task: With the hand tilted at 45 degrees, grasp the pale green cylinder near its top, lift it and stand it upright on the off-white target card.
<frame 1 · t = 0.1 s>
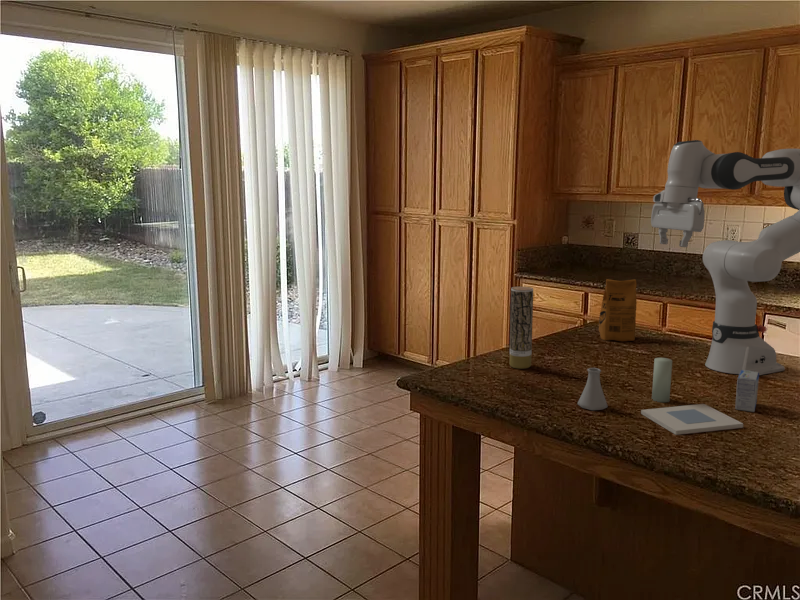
hand: (673, 245, 189), 39 cm above the counter, tool pointing down, fingers open, 8 cm apart
flask: (592, 407, 169), on the counter
target card: (690, 420, 159), on the counter
pale green cylinder: (660, 399, 174), on the counter
medicine box: (745, 407, 168), on the counter
coffee package: (616, 339, 238), on the counter
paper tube: (520, 367, 205), on the counter
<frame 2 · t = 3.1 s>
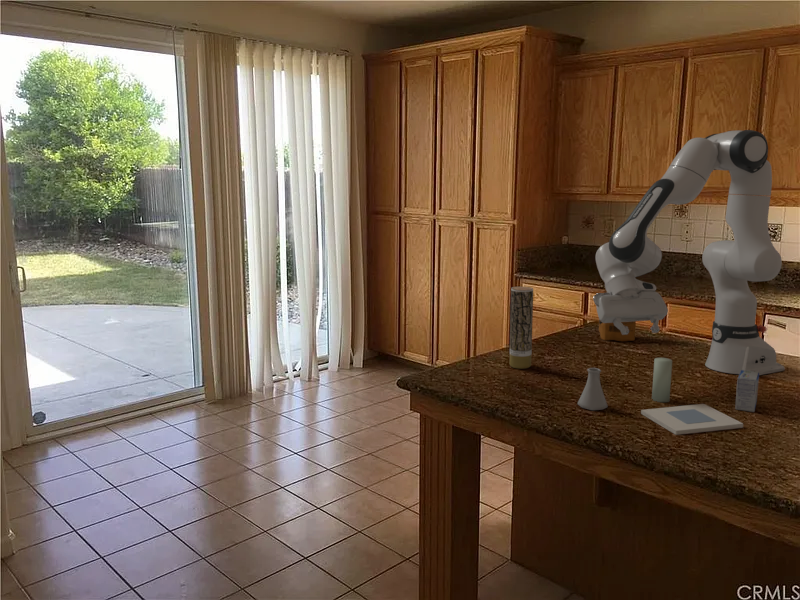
hand: (641, 332, 181), 16 cm above the counter, tool tilted 45°, fingers open, 8 cm apart
nothing on the counter moved.
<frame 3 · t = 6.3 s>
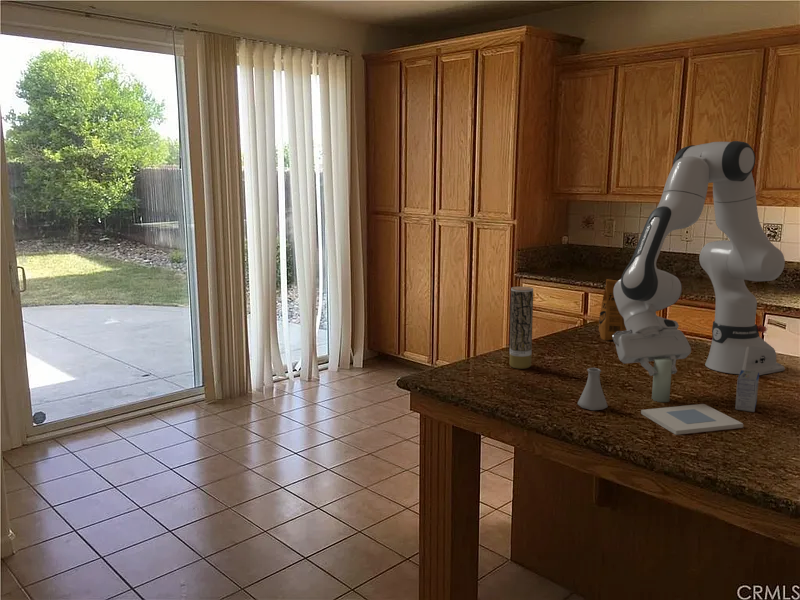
hand: (663, 373, 172), 7 cm above the counter, tool tilted 45°, fingers closed on pale green cylinder, 4 cm apart
pale green cylinder: (660, 399, 174), on the counter, touching gripper
everything else where it was.
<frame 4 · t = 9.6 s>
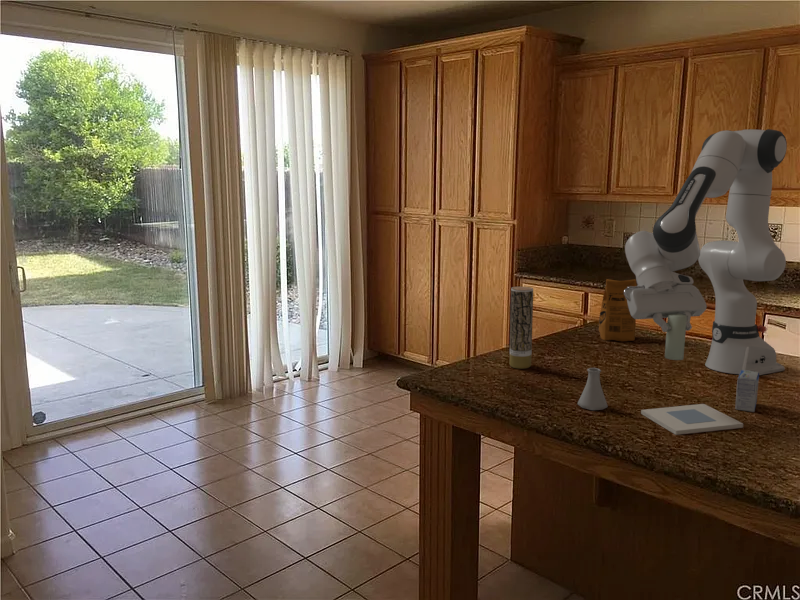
hand: (677, 330, 163), 21 cm above the counter, tool tilted 45°, fingers closed on pale green cylinder, 4 cm apart
pale green cylinder: (673, 357, 165), point 13 cm above the counter, touching gripper
everything else where it was.
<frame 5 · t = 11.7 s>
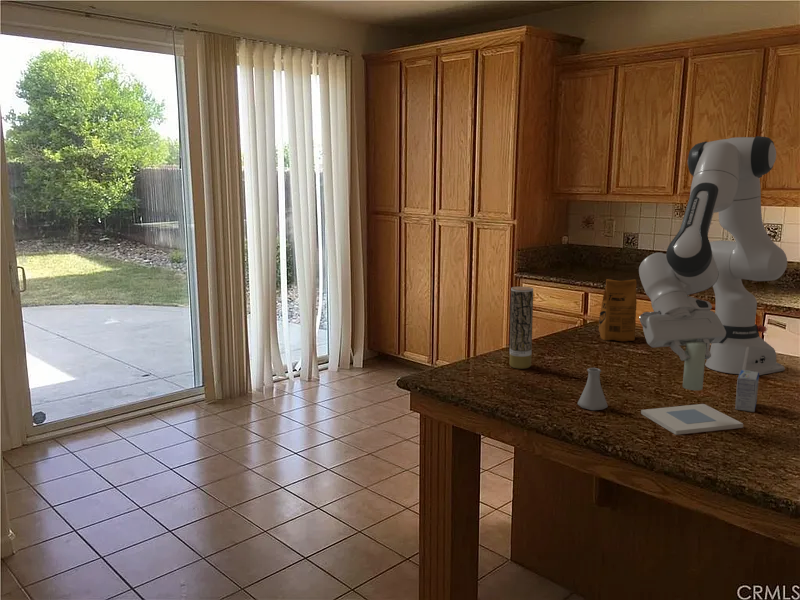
hand: (696, 358, 155), 16 cm above the counter, tool tilted 45°, fingers closed on pale green cylinder, 4 cm apart
pale green cylinder: (692, 387, 157), point 8 cm above the counter, touching gripper
everything else where it was.
when the fingers open (9 cm above the counter, at t = 13.4 s): pale green cylinder stays where it is, resting on target card.
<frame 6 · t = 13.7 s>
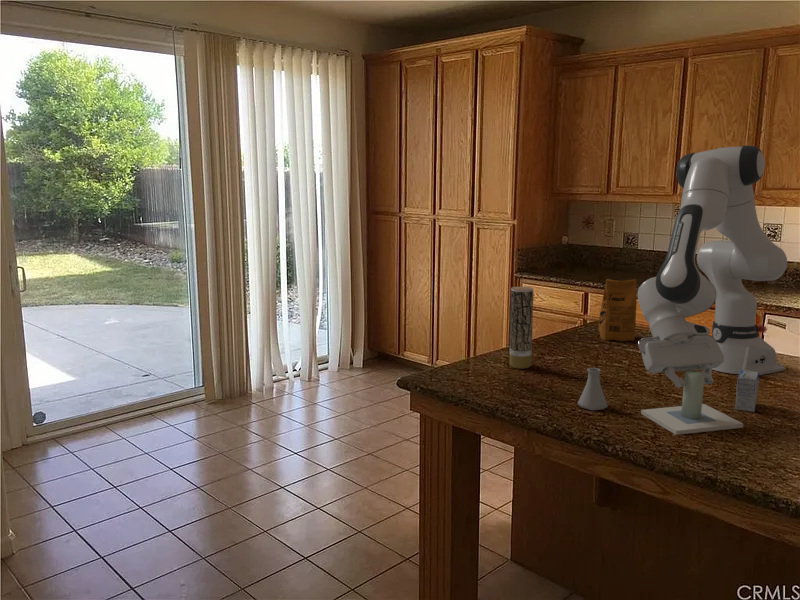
hand: (695, 384, 156), 9 cm above the counter, tool tilted 45°, fingers open, 7 cm apart
pale green cylinder: (690, 416, 159), point 1 cm above the counter, touching target card
everything else where it was.
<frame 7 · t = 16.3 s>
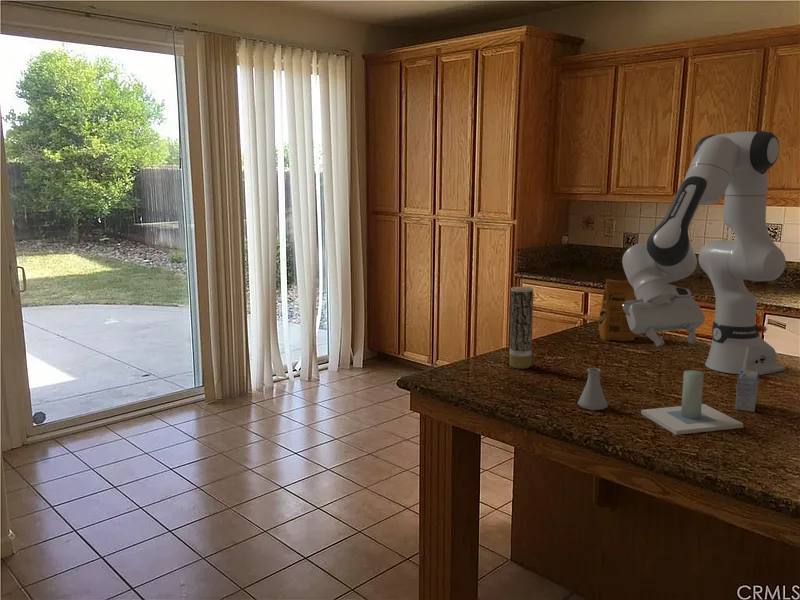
hand: (677, 343, 164), 17 cm above the counter, tool tilted 45°, fingers open, 8 cm apart
nothing on the counter moved.
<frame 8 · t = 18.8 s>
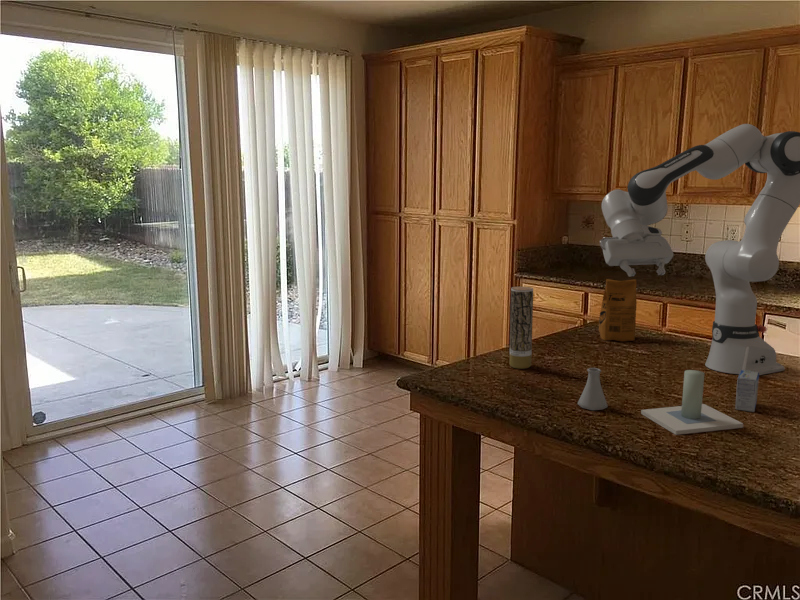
hand: (647, 274, 183), 31 cm above the counter, tool tilted 45°, fingers open, 8 cm apart
nothing on the counter moved.
at the end: pale green cylinder inside the target area on the target card (0.0 cm from its centre), point 1.1 cm above the target card's base; pale green cylinder tilted 1°; the gripper is holding nothing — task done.
